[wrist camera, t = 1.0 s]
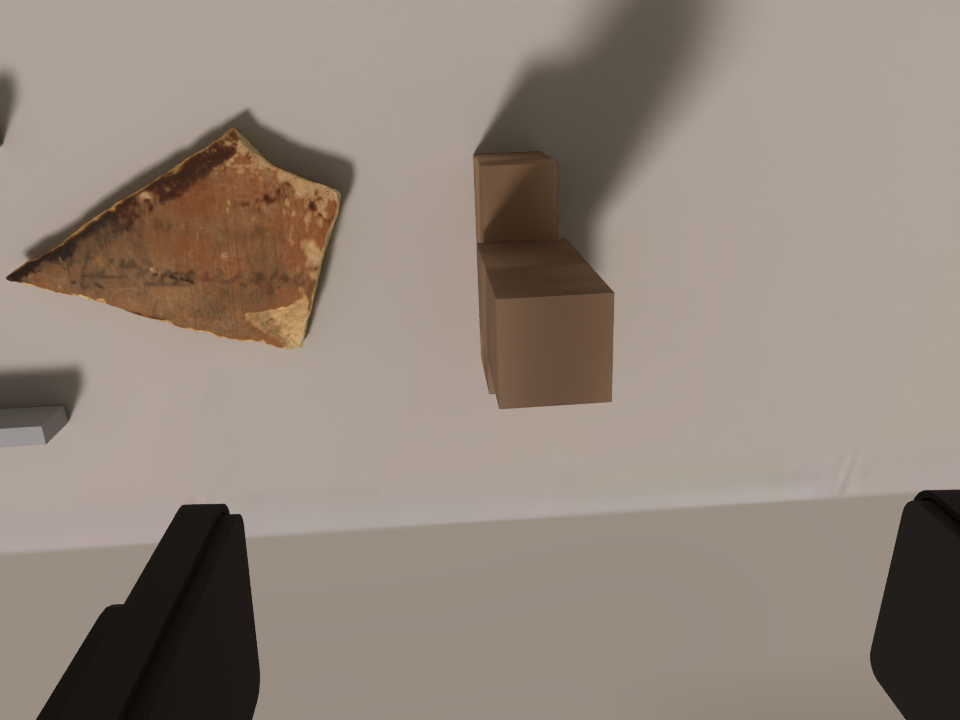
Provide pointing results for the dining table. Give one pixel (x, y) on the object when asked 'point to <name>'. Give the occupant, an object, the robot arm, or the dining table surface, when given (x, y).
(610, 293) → the wooden step block
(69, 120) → the dining table surface
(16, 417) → the frame
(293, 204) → the shard
